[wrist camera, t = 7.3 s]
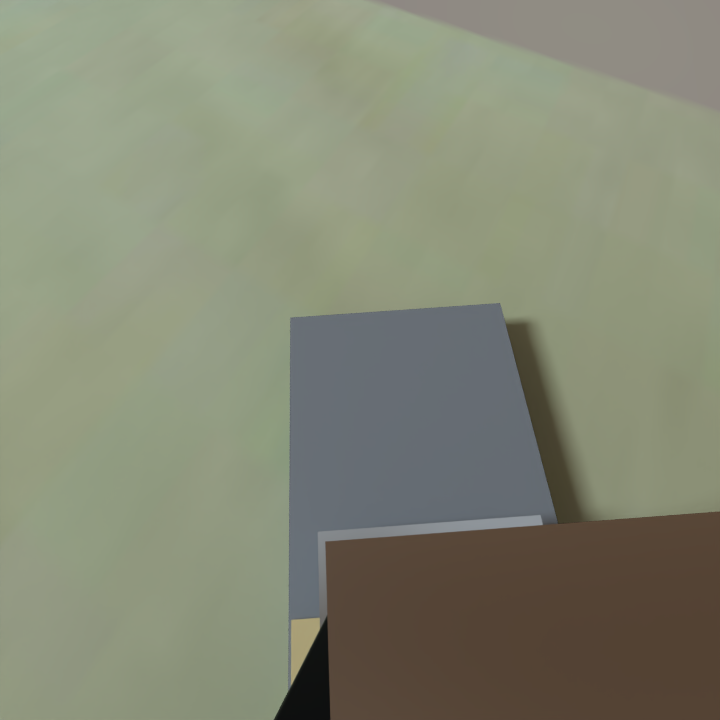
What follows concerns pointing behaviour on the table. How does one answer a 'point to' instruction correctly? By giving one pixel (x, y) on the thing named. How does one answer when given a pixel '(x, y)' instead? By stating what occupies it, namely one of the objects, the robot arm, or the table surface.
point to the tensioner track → (402, 434)
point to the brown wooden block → (524, 619)
